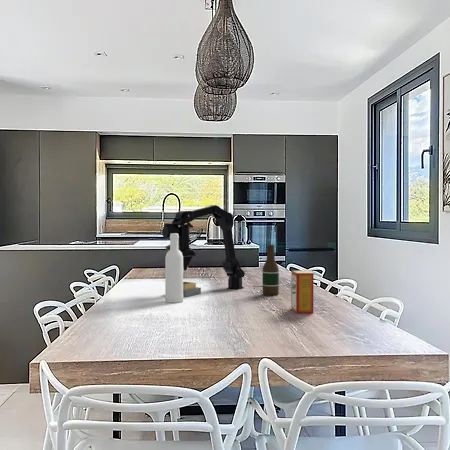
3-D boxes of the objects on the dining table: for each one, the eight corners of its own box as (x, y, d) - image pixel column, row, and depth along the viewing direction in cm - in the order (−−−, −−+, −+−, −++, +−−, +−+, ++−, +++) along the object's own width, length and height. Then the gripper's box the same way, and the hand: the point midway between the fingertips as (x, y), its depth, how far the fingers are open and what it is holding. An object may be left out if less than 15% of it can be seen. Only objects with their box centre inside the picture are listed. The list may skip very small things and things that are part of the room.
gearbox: (200, 293, 235) (200, 282, 235) (185, 297, 225) (185, 285, 224) (177, 291, 242) (177, 280, 242) (161, 294, 232) (161, 283, 232)
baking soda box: (291, 308, 198) (291, 269, 197) (307, 308, 198) (307, 269, 198) (296, 313, 188) (296, 272, 188) (313, 313, 189) (313, 272, 189)
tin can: (190, 272, 233) (190, 257, 233) (184, 273, 229) (184, 258, 229) (182, 272, 236) (182, 256, 236) (176, 273, 232) (176, 257, 232)
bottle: (185, 300, 217) (185, 233, 216) (179, 303, 209) (179, 233, 209) (169, 299, 219) (169, 233, 218) (162, 302, 211) (162, 233, 211)
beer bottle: (277, 296, 229) (278, 245, 228) (261, 295, 230) (261, 245, 230) (279, 293, 236) (279, 244, 236) (263, 292, 238) (263, 244, 237)
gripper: (161, 236, 238) (162, 268, 238) (172, 238, 221) (172, 272, 221) (183, 236, 242) (183, 267, 242) (195, 238, 225) (195, 271, 225)
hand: (183, 269), depth 233 cm, fingers closed on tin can, 4 cm apart
